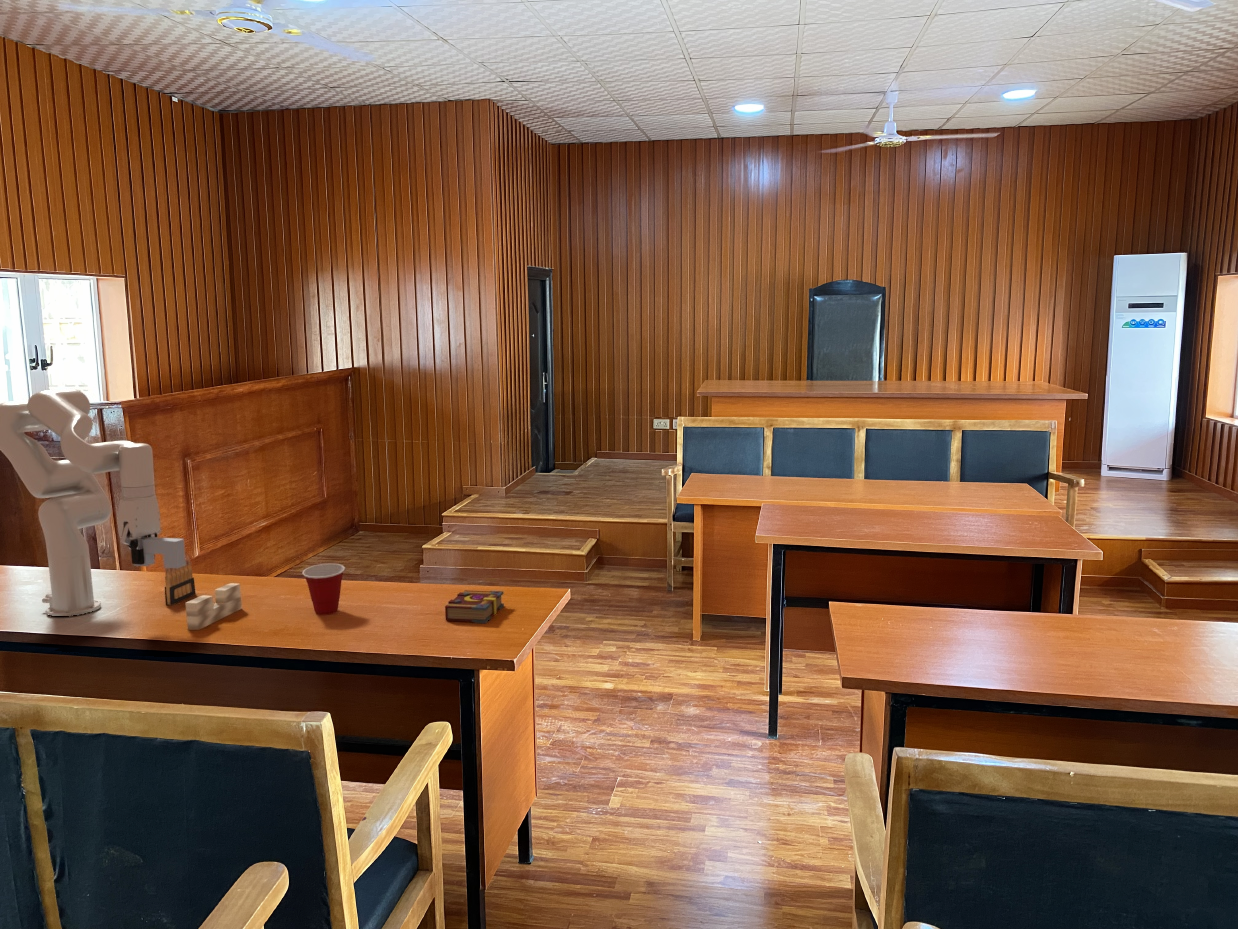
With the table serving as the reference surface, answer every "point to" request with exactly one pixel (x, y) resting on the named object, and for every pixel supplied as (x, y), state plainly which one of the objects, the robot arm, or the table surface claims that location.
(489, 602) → the decorative book
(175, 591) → the ammunition clip
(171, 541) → the grey block
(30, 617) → the table surface
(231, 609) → the birch block
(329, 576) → the plastic cup
